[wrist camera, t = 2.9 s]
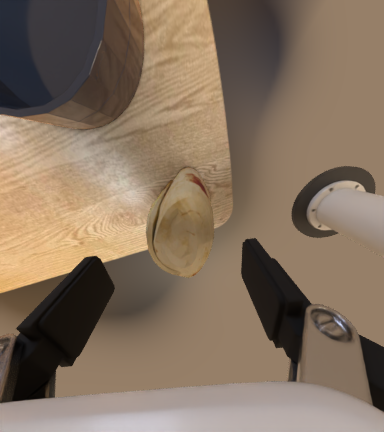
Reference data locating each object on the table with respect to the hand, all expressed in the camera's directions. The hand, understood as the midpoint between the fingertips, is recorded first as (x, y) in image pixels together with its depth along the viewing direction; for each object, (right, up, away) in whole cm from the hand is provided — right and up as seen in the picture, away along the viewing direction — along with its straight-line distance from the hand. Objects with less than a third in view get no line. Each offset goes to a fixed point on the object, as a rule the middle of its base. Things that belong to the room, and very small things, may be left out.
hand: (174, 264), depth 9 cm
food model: (0, +9, +20) cm, 22 cm away
